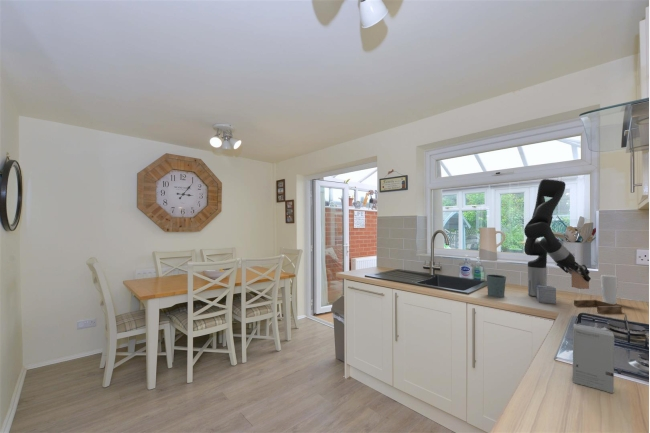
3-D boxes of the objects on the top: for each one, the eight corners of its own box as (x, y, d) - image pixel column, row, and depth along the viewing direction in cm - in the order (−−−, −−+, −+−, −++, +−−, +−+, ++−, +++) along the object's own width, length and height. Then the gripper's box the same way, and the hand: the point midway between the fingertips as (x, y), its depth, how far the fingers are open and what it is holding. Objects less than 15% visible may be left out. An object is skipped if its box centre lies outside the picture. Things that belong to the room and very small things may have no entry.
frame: (599, 313, 141) (599, 307, 142) (574, 305, 154) (574, 300, 155) (621, 312, 142) (621, 306, 142) (595, 305, 155) (595, 299, 155)
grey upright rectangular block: (572, 383, 79) (571, 328, 80) (572, 374, 84) (571, 322, 84) (616, 394, 74) (614, 335, 74) (613, 384, 78) (612, 329, 79)
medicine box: (554, 302, 162) (553, 286, 162) (556, 304, 158) (556, 288, 158) (536, 300, 165) (536, 285, 166) (538, 302, 161) (538, 286, 162)
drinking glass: (621, 305, 156) (621, 277, 156) (607, 304, 157) (606, 276, 157) (612, 301, 162) (611, 274, 163) (597, 301, 164) (597, 274, 164)
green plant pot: (485, 293, 183) (485, 273, 183) (504, 294, 179) (504, 275, 179) (488, 296, 173) (487, 276, 174) (507, 298, 170) (507, 277, 170)
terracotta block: (580, 288, 139) (580, 270, 139) (571, 286, 143) (571, 268, 144) (589, 288, 139) (588, 269, 139) (580, 286, 144) (579, 268, 144)
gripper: (579, 250, 134) (603, 276, 135) (552, 247, 148) (575, 271, 149) (568, 262, 133) (593, 288, 134) (542, 258, 148) (565, 281, 148)
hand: (583, 279), depth 142 cm, fingers closed on terracotta block, 4 cm apart
